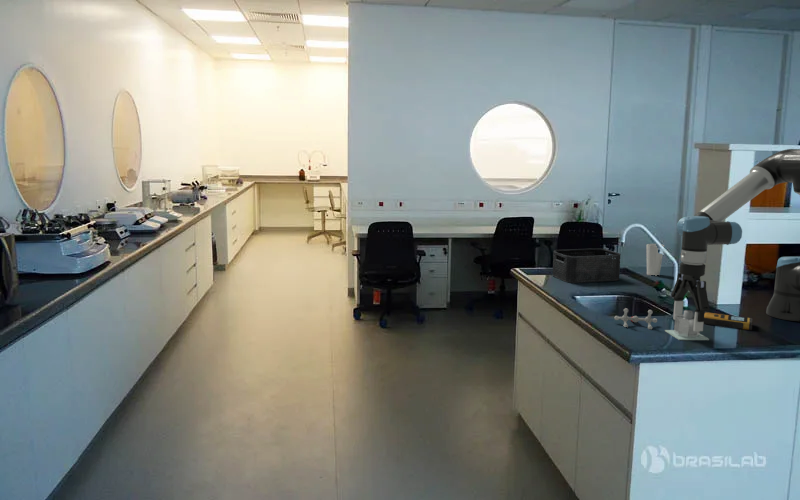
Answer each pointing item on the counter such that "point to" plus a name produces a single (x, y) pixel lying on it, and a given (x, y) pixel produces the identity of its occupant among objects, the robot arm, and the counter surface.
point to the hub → (685, 327)
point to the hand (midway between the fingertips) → (687, 324)
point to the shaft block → (687, 315)
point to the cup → (653, 260)
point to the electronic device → (728, 321)
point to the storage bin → (586, 265)
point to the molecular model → (636, 318)
